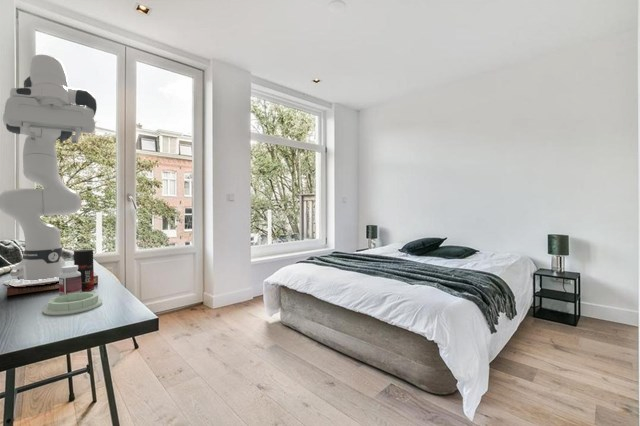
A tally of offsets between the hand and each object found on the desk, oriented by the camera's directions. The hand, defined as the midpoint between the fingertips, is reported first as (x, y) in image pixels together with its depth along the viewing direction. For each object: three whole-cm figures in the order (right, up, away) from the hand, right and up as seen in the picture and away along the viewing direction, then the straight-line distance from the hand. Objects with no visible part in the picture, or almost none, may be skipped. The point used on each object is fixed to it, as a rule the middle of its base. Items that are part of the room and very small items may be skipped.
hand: (54, 140), depth 91 cm
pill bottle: (-11, -51, +20) cm, 56 cm away
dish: (-2, -51, +10) cm, 52 cm away
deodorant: (-14, -51, +31) cm, 61 cm away
